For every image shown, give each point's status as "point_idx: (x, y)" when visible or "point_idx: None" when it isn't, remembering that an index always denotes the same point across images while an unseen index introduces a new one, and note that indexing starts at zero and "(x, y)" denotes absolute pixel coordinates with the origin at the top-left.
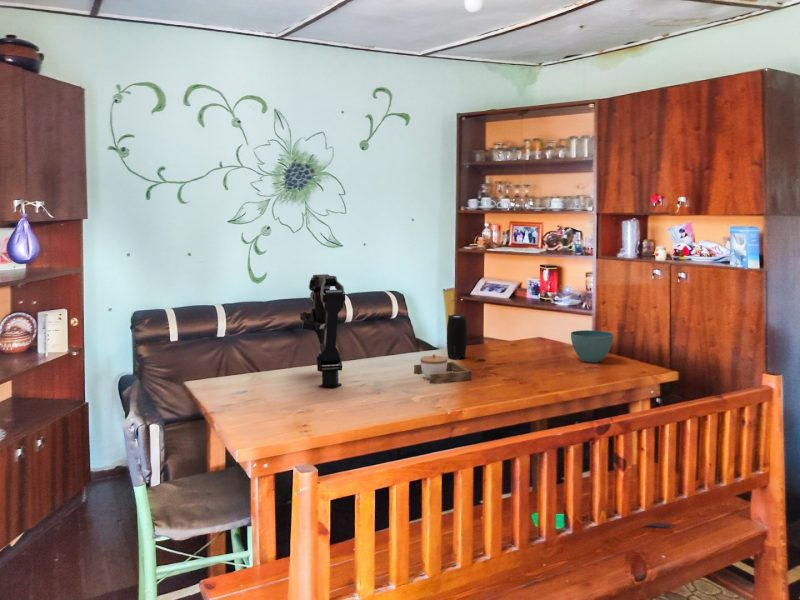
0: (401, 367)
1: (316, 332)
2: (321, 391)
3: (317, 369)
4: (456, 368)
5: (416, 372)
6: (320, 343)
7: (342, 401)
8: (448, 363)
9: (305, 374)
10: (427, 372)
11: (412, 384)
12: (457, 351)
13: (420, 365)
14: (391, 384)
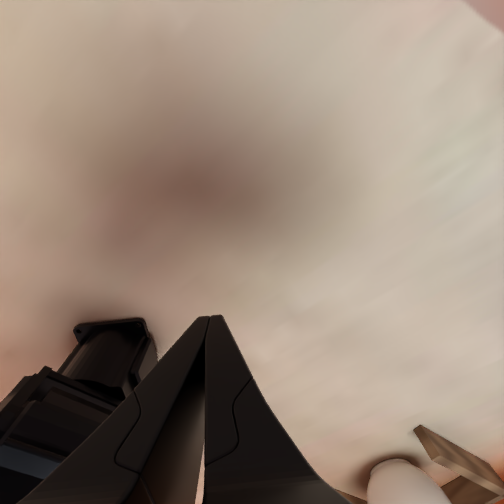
0: (497, 364)
1: (45, 495)
2: (44, 365)
3: (16, 385)
4: (460, 501)
5: (418, 436)
6: (194, 326)
7: None
8: (494, 491)
9: (199, 111)
10: (367, 499)
11: None
12: None
13: (442, 464)
14: None
